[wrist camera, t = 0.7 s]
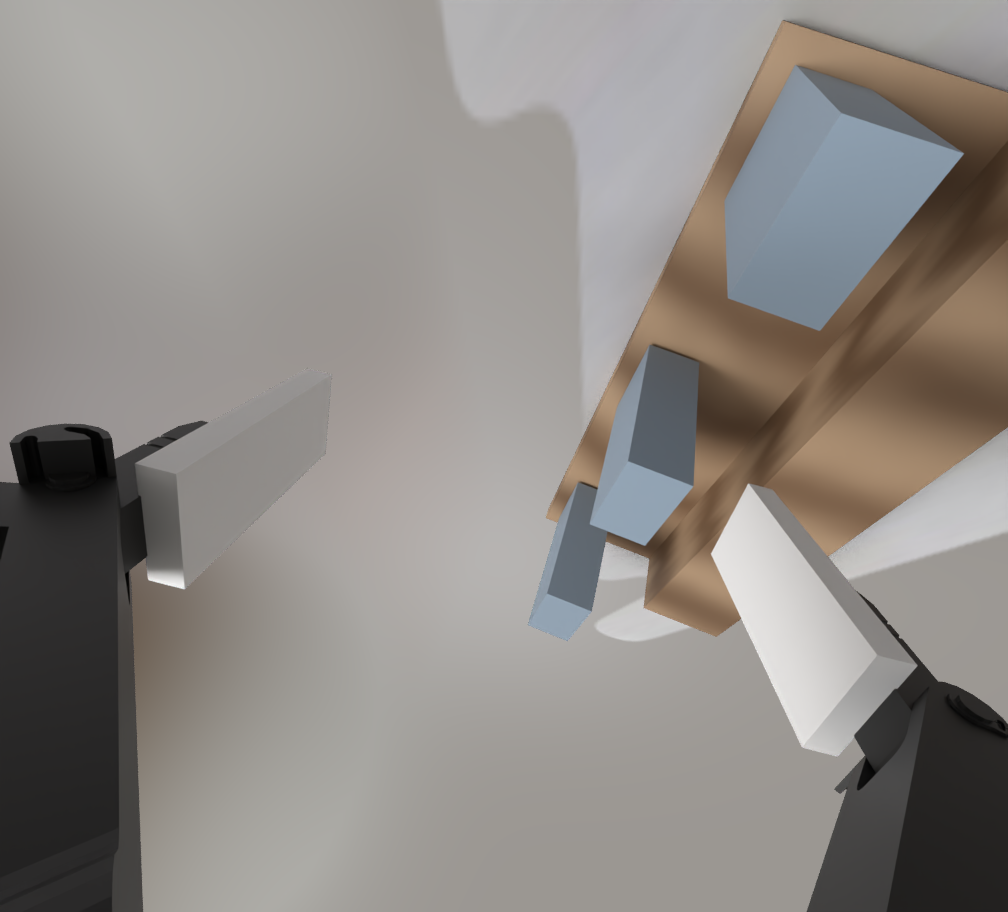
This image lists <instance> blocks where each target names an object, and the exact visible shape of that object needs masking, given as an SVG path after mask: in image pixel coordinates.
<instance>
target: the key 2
mask: <svg viewBox="0 0 1008 912" xmlns="http://www.w3.org/2000/svg"><path fill="white" fill-rule="evenodd" d="M963 154H964V153H963V152H961V151H960V150H958V149H957V148H955V147H954V146H953V145H951V144H950V143H948V142H947V141H945V140H944V139H942V138H941V137H940V136H938V135H937V134H935V133H934V132H932V131H931V130H929V129H928V128H927V127H925V126H924V125H922V124H921V123H919V122H918V121H916V120H915V119H914V118H912V117H911V116H909V115H908V114H906V113H905V112H903V111H902V110H901V109H899V108H898V107H896V106H895V105H893V104H892V103H890V102H889V101H888V100H886V99H885V98H883V97H882V96H880V95H879V94H877V93H876V92H875V91H873V90H872V89H868V88H865V87H862V86H859V85H856V84H853V83H850V82H847V81H844V80H841V79H838V78H835V77H832V76H828V75H825V74H822V73H819V72H816V71H813V70H810V69H807V68H804V67H801V66H798V65H795V66H794V68H793V70H792V72H791V74H790V76H789V78H788V79H787V81H786V83H785V85H784V87H783V89H782V91H781V93H780V95H779V97H778V99H777V101H776V103H775V104H774V106H773V108H772V110H771V112H770V114H769V116H768V118H767V120H766V122H765V124H764V126H763V127H762V129H761V131H760V133H759V135H758V137H757V139H756V141H755V143H754V145H753V147H752V149H751V151H750V152H749V154H748V156H747V158H746V160H745V162H744V164H743V166H742V168H741V170H740V172H739V174H738V176H737V177H736V179H735V181H734V183H733V185H732V187H731V189H730V191H729V193H728V195H727V197H726V199H725V201H724V203H725V232H726V261H727V290H728V298H729V299H731V300H734V301H737V302H740V303H743V304H746V305H748V306H751V307H754V308H757V309H760V310H762V311H765V312H768V313H771V314H774V315H776V316H779V317H782V318H785V319H788V320H790V321H793V322H796V323H799V324H802V325H804V326H807V327H810V328H813V329H816V330H818V331H820V330H821V329H822V328H823V326H824V325H825V324H826V323H827V322H828V320H829V319H830V318H831V317H832V315H833V314H834V313H835V312H836V310H837V309H838V308H839V307H840V306H841V304H842V303H843V302H844V301H845V299H846V298H847V297H848V296H849V294H850V293H851V292H852V291H853V290H854V288H855V287H856V286H857V285H858V283H859V282H860V281H861V280H862V279H863V277H864V276H865V275H866V274H867V272H868V271H869V270H870V269H871V267H872V266H873V265H874V264H875V263H876V261H877V260H878V259H879V258H880V256H881V255H882V254H883V253H884V251H885V250H886V249H887V248H888V247H889V245H890V244H891V243H892V242H893V240H894V239H895V238H896V237H897V235H898V234H899V233H900V232H901V231H902V229H903V228H904V227H905V226H906V224H907V223H908V222H909V221H910V219H911V218H912V217H913V216H914V215H915V213H916V212H917V211H918V210H919V208H920V207H921V206H922V205H923V204H924V202H925V201H926V200H927V199H928V197H929V196H930V195H931V194H932V192H933V191H934V190H935V189H936V188H937V186H938V185H939V184H940V183H941V181H942V180H943V179H944V178H945V176H946V175H947V174H948V173H949V172H950V170H951V169H952V168H953V167H954V165H955V164H956V163H957V162H958V160H959V159H960V158H961V157H962V156H963Z"/></svg>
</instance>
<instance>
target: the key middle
mask: <svg viewBox="0 0 1008 912" xmlns="http://www.w3.org/2000/svg"><path fill="white" fill-rule="evenodd" d="M698 378H699V362H697V361H694V360H691V359H688V358H686V357H683V356H680V355H677V354H675V353H672V352H669V351H666V350H664V349H661V348H658V347H655V346H653V345H649V347H648V348H647V350H646V352H645V354H644V356H643V358H642V360H641V362H640V364H639V366H638V368H637V370H636V372H635V373H634V375H633V377H632V379H631V381H630V383H629V385H628V387H627V389H626V391H625V393H624V395H623V397H622V398H621V400H620V402H619V404H618V406H617V409H616V413H615V418H614V422H613V426H612V430H611V435H610V439H609V443H608V447H607V452H606V456H605V460H604V464H603V469H602V473H601V477H600V481H599V486H598V490H597V494H596V498H595V503H594V507H593V511H592V516H591V520H590V525H593V526H595V527H598V528H601V529H603V530H606V531H608V532H611V533H613V534H616V535H618V536H621V537H624V538H626V539H629V540H631V541H634V542H636V543H639V544H641V545H644V546H645V545H646V544H647V543H648V542H649V540H650V539H651V538H652V537H653V535H654V534H655V533H656V532H657V531H658V529H659V528H660V527H661V526H662V524H663V523H664V522H665V521H666V519H667V518H668V517H669V516H670V515H671V513H672V512H673V511H674V510H675V508H676V507H677V506H678V505H679V503H680V502H681V501H682V500H683V499H684V497H685V496H686V495H687V494H688V492H689V491H690V490H691V489H692V488H693V486H694V465H695V443H696V422H697V400H698Z"/></svg>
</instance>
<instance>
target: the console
mask: <svg viewBox="0 0 1008 912" xmlns="http://www.w3.org/2000/svg"><path fill="white" fill-rule="evenodd" d="M795 65H798V66H801V67H804V68H807V69H810V70H813V71H816V72H819V73H822V74H825V75H828V76H832V77H835V78H838V79H841V80H844V81H847V82H850V83H853V84H856V85H859V86H862V87H865V88H868V89H872V90H873V91H875V92H876V93H877V94H879V95H880V96H882V97H883V98H885V99H886V100H888V101H889V102H890V103H892V104H893V105H895V106H896V107H898V108H899V109H901V110H902V111H903V112H905V113H906V114H908V115H909V116H911V117H912V118H914V119H915V120H916V121H918V122H919V123H921V124H922V125H924V126H925V127H927V128H928V129H929V130H931V131H932V132H934V133H935V134H937V135H938V136H940V137H941V138H942V139H944V140H945V141H947V142H948V143H950V144H951V145H953V146H954V147H955V148H957V149H958V150H960V151H961V152H963V153H964V154H963V156H962V157H961V158H960V159H959V160H958V162H957V163H956V164H955V165H954V167H953V168H952V169H951V170H950V172H949V173H948V174H947V175H946V176H945V178H944V179H943V180H942V181H941V183H940V184H939V185H938V186H937V188H936V189H935V190H934V191H933V192H932V194H931V195H930V196H929V197H928V199H927V200H926V201H925V202H924V204H923V205H922V206H921V207H920V208H919V210H918V211H917V212H916V213H915V215H914V216H913V217H912V218H911V219H910V221H909V222H908V223H907V224H906V226H905V227H904V228H903V229H902V231H901V232H900V233H899V234H898V235H897V237H896V238H895V239H894V240H893V242H892V243H891V244H890V245H889V247H888V248H887V249H886V250H885V251H884V253H883V254H882V255H881V256H880V258H879V259H878V260H877V261H876V263H875V264H874V265H873V266H872V267H871V269H870V270H869V271H868V272H867V274H866V275H865V276H864V277H863V279H862V280H861V281H860V282H859V283H858V285H857V286H856V287H855V288H854V290H853V291H852V292H851V293H850V294H849V296H848V297H847V298H846V299H845V301H844V302H843V303H842V304H841V306H840V307H839V308H838V309H837V310H836V312H835V313H834V314H833V315H832V317H831V318H830V319H829V320H828V322H827V323H826V324H825V325H824V326H823V328H822V329H821V330H820V331H818V330H816V329H813V328H810V327H807V326H804V325H802V324H799V323H796V322H793V321H790V320H788V319H785V318H782V317H779V316H776V315H774V314H771V313H768V312H765V311H762V310H760V309H757V308H754V307H751V306H748V305H746V304H743V303H740V302H737V301H734V300H731V299H729V298H728V290H727V261H726V232H725V203H724V201H725V199H726V197H727V195H728V193H729V191H730V189H731V187H732V185H733V183H734V181H735V179H736V177H737V176H738V174H739V172H740V170H741V168H742V166H743V164H744V162H745V160H746V158H747V156H748V154H749V152H750V151H751V149H752V147H753V145H754V143H755V141H756V139H757V137H758V135H759V133H760V131H761V129H762V127H763V126H764V124H765V122H766V120H767V118H768V116H769V114H770V112H771V110H772V108H773V106H774V104H775V103H776V101H777V99H778V97H779V95H780V93H781V91H782V89H783V87H784V85H785V83H786V81H787V79H788V78H789V76H790V74H791V72H792V70H793V68H794V66H795ZM649 345H653V346H655V347H658V348H661V349H664V350H666V351H669V352H672V353H675V354H677V355H680V356H683V357H686V358H688V359H691V360H694V361H697V362H699V378H698V400H697V422H696V443H695V465H694V486H693V488H692V489H691V490H690V491H689V492H688V494H687V495H686V496H685V497H684V499H683V500H682V501H681V502H680V503H679V505H678V506H677V507H676V508H675V510H674V511H673V512H672V513H671V515H670V516H669V517H668V518H667V519H666V521H665V522H664V523H663V524H662V526H661V527H660V528H659V529H658V531H657V532H656V533H655V534H654V535H653V537H652V538H651V539H650V540H649V542H648V543H647V544H646V545H645V546H644V545H641V544H639V543H636V542H634V541H631V540H629V539H626V538H624V537H621V536H618V535H616V534H613V533H611V532H607V537H606V542H609V543H611V544H614V545H616V546H619V547H621V548H624V549H626V550H629V551H632V552H634V553H637V554H639V555H642V556H644V557H647V558H649V566H648V575H647V584H646V592H645V601H644V608H645V609H648V610H650V611H653V612H655V613H658V614H660V615H663V616H665V617H668V618H670V619H673V620H675V621H678V622H681V623H683V624H686V625H688V626H691V627H693V628H696V629H698V630H701V631H703V632H706V633H708V634H711V635H713V636H718V635H719V634H721V633H722V632H724V631H725V630H726V629H728V628H729V627H730V626H732V625H733V624H735V623H736V622H737V621H739V620H740V619H741V617H740V615H739V612H738V610H737V608H736V606H735V604H734V602H733V600H732V598H731V595H730V593H729V591H728V589H727V587H726V585H725V583H724V581H723V579H722V576H721V574H720V572H719V570H718V568H717V566H716V564H715V562H714V559H713V557H712V555H711V553H712V551H713V549H714V547H715V545H716V543H717V541H718V540H719V538H720V536H721V534H722V532H723V530H724V528H725V526H726V525H727V523H728V521H729V519H730V517H731V515H732V513H733V511H734V509H735V508H736V506H737V504H738V502H739V500H740V498H741V496H742V494H743V493H744V491H745V489H746V487H747V485H748V483H749V484H753V485H757V486H761V487H764V488H768V489H772V490H773V491H774V492H775V493H776V494H777V496H778V497H779V498H780V499H781V501H782V502H783V503H784V504H785V505H786V507H787V508H788V509H789V510H790V511H791V513H792V514H793V515H794V516H795V517H796V519H797V520H798V521H799V522H800V524H801V525H802V526H803V527H804V528H805V530H806V531H807V532H808V533H809V534H810V536H811V537H812V538H813V539H814V540H815V542H816V543H817V544H818V545H819V547H820V548H821V549H822V550H823V551H824V553H825V554H826V555H827V556H829V555H831V554H832V553H833V552H835V551H836V550H838V549H839V548H840V547H842V546H843V545H845V544H846V543H847V542H849V541H850V540H852V539H853V538H854V537H856V536H857V535H858V534H860V533H861V532H863V531H864V530H865V529H867V528H868V527H870V526H871V525H872V524H874V523H875V522H877V521H878V520H879V519H881V518H882V517H883V516H885V515H886V514H888V513H889V512H890V511H892V510H893V509H895V508H896V507H897V506H899V505H900V504H902V503H903V502H904V501H906V500H907V499H909V498H910V497H911V496H913V495H914V494H915V493H917V492H918V491H920V490H921V489H922V488H924V487H925V486H927V485H928V484H929V483H931V482H932V481H934V480H935V479H936V478H938V477H939V476H941V475H942V474H943V473H945V472H946V471H947V470H949V469H950V468H952V467H953V466H954V465H956V464H957V463H959V462H960V461H961V460H963V459H964V458H966V457H967V456H968V455H970V454H971V453H973V452H974V451H975V450H977V449H978V448H979V447H981V446H982V445H984V444H985V443H986V442H988V441H989V440H991V439H992V438H993V437H995V436H996V435H998V434H999V433H1000V432H1002V431H1003V430H1005V429H1006V428H1007V427H1008V92H1006V91H1003V90H999V89H996V88H993V87H990V86H987V85H984V84H981V83H978V82H974V81H971V80H968V79H965V78H962V77H959V76H956V75H953V74H949V73H946V72H943V71H940V70H937V69H934V68H931V67H928V66H924V65H921V64H918V63H915V62H912V61H909V60H906V59H903V58H899V57H896V56H893V55H890V54H887V53H884V52H881V51H878V50H874V49H871V48H868V47H865V46H862V45H859V44H856V43H853V42H849V41H846V40H843V39H840V38H837V37H834V36H831V35H828V34H824V33H821V32H818V31H815V30H812V29H809V28H806V27H803V26H799V25H796V24H793V23H790V22H787V21H784V20H783V21H782V23H781V25H780V27H779V29H778V31H777V33H776V35H775V37H774V39H773V41H772V44H771V46H770V48H769V50H768V52H767V54H766V56H765V58H764V60H763V62H762V64H761V66H760V69H759V71H758V73H757V75H756V77H755V79H754V81H753V83H752V85H751V87H750V89H749V92H748V94H747V96H746V98H745V100H744V102H743V104H742V106H741V108H740V110H739V112H738V114H737V117H736V119H735V121H734V123H733V125H732V127H731V129H730V131H729V133H728V135H727V137H726V139H725V142H724V144H723V146H722V148H721V150H720V152H719V154H718V156H717V158H716V160H715V162H714V165H713V167H712V169H711V171H710V173H709V175H708V177H707V179H706V181H705V183H704V185H703V187H702V190H701V192H700V194H699V196H698V198H697V200H696V202H695V204H694V206H693V208H692V210H691V213H690V215H689V217H688V219H687V221H686V223H685V225H684V227H683V229H682V231H681V233H680V235H679V238H678V240H677V242H676V244H675V246H674V248H673V250H672V252H671V254H670V256H669V258H668V261H667V263H666V265H665V267H664V269H663V271H662V273H661V275H660V277H659V279H658V281H657V283H656V286H655V288H654V290H653V292H652V294H651V296H650V298H649V300H648V302H647V304H646V306H645V308H644V311H643V313H642V315H641V317H640V319H639V321H638V323H637V325H636V327H635V329H634V331H633V334H632V336H631V338H630V340H629V342H628V344H627V346H626V348H625V350H624V352H623V354H622V356H621V359H620V361H619V363H618V365H617V367H616V369H615V371H614V373H613V375H612V377H611V379H610V382H609V384H608V386H607V388H606V390H605V392H604V394H603V396H602V398H601V400H600V402H599V404H598V407H597V409H596V411H595V413H594V415H593V417H592V419H591V421H590V423H589V425H588V427H587V429H586V432H585V434H584V436H583V438H582V440H581V442H580V444H579V446H578V448H577V450H576V452H575V455H574V457H573V459H572V461H571V463H570V465H569V467H568V469H567V471H566V473H565V475H564V477H563V480H562V482H561V484H560V486H559V488H558V490H557V492H556V494H555V496H554V498H553V500H552V503H551V505H550V507H549V509H548V513H547V516H546V518H547V519H550V520H553V521H555V522H558V520H559V518H560V516H561V514H562V512H563V510H564V508H565V506H566V504H567V502H568V500H569V498H570V496H571V495H572V493H573V491H574V489H575V487H576V485H577V483H578V482H579V483H581V484H584V485H586V486H589V487H592V488H594V489H597V490H598V486H599V481H600V477H601V473H602V469H603V464H604V460H605V456H606V452H607V447H608V443H609V439H610V435H611V430H612V426H613V422H614V418H615V413H616V409H617V406H618V404H619V402H620V400H621V398H622V397H623V395H624V393H625V391H626V389H627V387H628V385H629V383H630V381H631V379H632V377H633V375H634V373H635V372H636V370H637V368H638V366H639V364H640V362H641V360H642V358H643V356H644V354H645V352H646V350H647V348H648V347H649Z"/></svg>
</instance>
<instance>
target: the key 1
mask: <svg viewBox="0 0 1008 912" xmlns="http://www.w3.org/2000/svg"><path fill="white" fill-rule="evenodd" d="M596 494H597V489H594V488H592V487H589V486H586V485H584V484H581V483H579V482H578V483H577V485H576V487H575V489H574V491H573V493H572V495H571V496H570V498H569V500H568V502H567V504H566V506H565V508H564V510H563V512H562V514H561V516H560V518H559V520H558V524H557V527H556V531H555V534H554V537H553V541H552V544H551V548H550V551H549V554H548V558H547V561H546V565H545V568H544V571H543V575H542V578H541V582H540V585H539V589H538V592H537V595H536V599H535V602H534V606H533V609H532V612H531V616H530V619H529V622H528V625H529V626H532V627H534V628H536V629H539V630H541V631H544V632H546V633H549V634H551V635H554V636H556V637H559V638H561V639H564V640H566V641H568V640H569V639H570V637H571V636H572V635H573V634H574V632H575V631H576V630H577V629H578V627H579V626H580V625H581V624H582V623H583V621H584V620H585V619H586V618H587V617H588V615H589V614H590V613H591V612H592V607H593V602H594V597H595V592H596V587H597V582H598V577H599V572H600V567H601V562H602V557H603V552H604V547H605V542H606V537H607V532H608V531H606V530H603V529H601V528H598V527H595V526H593V525H590V520H591V516H592V511H593V507H594V503H595V498H596Z"/></svg>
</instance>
